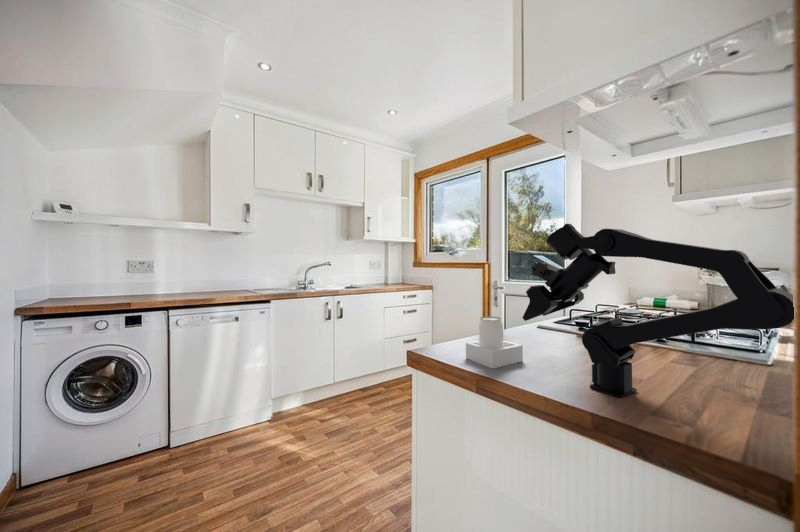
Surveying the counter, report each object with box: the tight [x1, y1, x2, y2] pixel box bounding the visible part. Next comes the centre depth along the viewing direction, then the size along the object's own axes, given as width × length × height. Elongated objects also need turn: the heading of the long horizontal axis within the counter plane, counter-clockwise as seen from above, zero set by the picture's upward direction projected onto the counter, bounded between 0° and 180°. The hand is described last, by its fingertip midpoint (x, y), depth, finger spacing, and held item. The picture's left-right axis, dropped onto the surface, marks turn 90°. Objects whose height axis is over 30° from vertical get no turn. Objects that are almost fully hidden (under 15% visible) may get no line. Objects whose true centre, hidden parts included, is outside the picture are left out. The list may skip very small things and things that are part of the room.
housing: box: [465, 339, 524, 370], centre depth 94 cm, size 11×11×4 cm
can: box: [478, 315, 504, 350], centre depth 93 cm, size 6×6×12 cm
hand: (533, 316), depth 85 cm, fingers open, 9 cm apart
